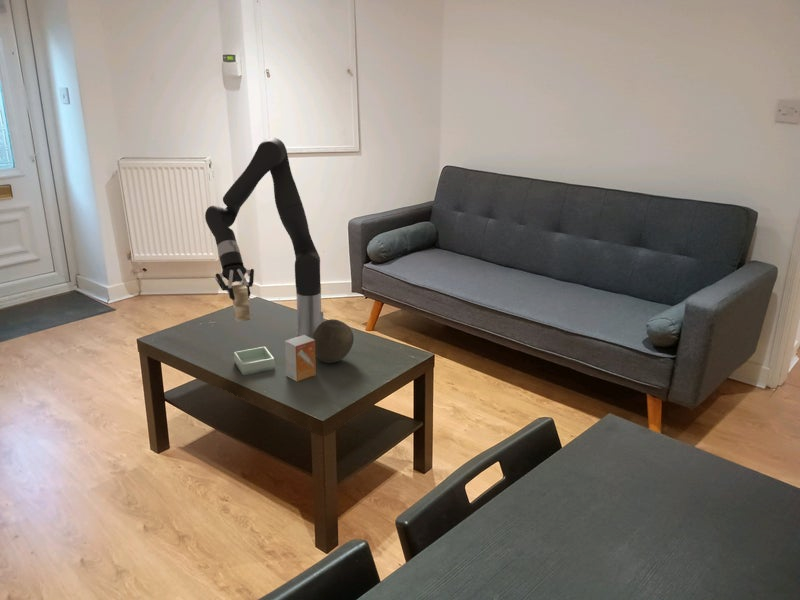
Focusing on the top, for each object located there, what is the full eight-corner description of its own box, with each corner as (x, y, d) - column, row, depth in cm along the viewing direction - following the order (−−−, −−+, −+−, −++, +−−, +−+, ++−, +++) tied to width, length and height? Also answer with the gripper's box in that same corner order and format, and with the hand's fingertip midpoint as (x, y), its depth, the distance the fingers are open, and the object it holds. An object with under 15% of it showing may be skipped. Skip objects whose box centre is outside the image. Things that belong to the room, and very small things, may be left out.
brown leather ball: (329, 373, 227) (328, 332, 222) (304, 360, 237) (303, 320, 232) (361, 361, 237) (361, 322, 232) (336, 349, 246) (335, 311, 241)
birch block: (246, 315, 239) (244, 283, 235) (249, 319, 235) (247, 287, 231) (234, 317, 237) (231, 285, 233) (237, 322, 233) (234, 289, 229)
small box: (296, 382, 221) (295, 346, 216) (285, 375, 225) (284, 340, 221) (316, 374, 226) (315, 339, 222) (305, 368, 231) (304, 334, 226)
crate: (265, 356, 239) (264, 346, 238) (274, 369, 230) (274, 358, 229) (234, 362, 234) (233, 352, 233) (243, 375, 225) (242, 364, 224)
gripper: (210, 253, 232) (221, 296, 226) (251, 248, 238) (262, 290, 232) (208, 263, 239) (219, 306, 233) (248, 258, 245) (259, 299, 239)
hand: (240, 298), depth 233 cm, fingers closed on birch block, 4 cm apart
